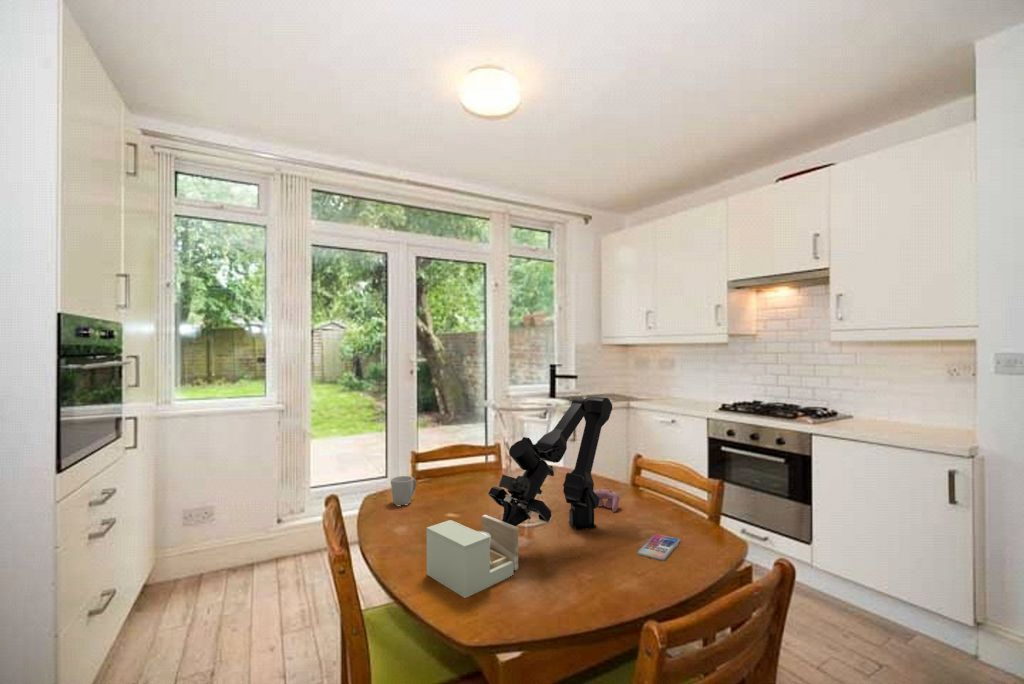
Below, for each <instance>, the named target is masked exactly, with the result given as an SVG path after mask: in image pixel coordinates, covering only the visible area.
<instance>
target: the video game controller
mask: <svg viewBox="0 0 1024 684" xmlns="http://www.w3.org/2000/svg"><path fill="white" fill-rule="evenodd" d="M593 491H594V493H595V494H596V495H597V496H598V498H599V504H598V506H597V507H600V508H601V507H603V506H604V504H605V507H606V508H608V509H611V510H612V513H615V512H616V511H617V510H618V508H619V502H620V499H621V498H620V495H618V494H617V493H616V492H614V491H613V490H611V489H610V490H609V489H606V488H605V489H604V488H600V489H593ZM604 499H605V500H606V502H604Z"/></svg>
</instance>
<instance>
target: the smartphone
mask: <svg viewBox="0 0 1024 684" xmlns="http://www.w3.org/2000/svg"><path fill="white" fill-rule="evenodd" d="M680 543H681V540H680V538H676V537H672V536H668V535H663V534H659V533H658V534H657V533H656V534H654V535H652V536H651V537H650V538H649V539H648V540H647V541H646V543H644V544H643V545H642V547H640V548H639V549H638V551H637V552H636V555H638V556H640V557H644V556H645V557H644V558H647V557H648V558H650V559H651V558H652V559H651V560H655V559H656V560H655V561H659V560H660V562H665V561H666V560H667V559H668V558H669V557H670V555H672V553H673V551H674V550H675V549H676V548H677V547H678V545H679V544H680Z"/></svg>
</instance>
